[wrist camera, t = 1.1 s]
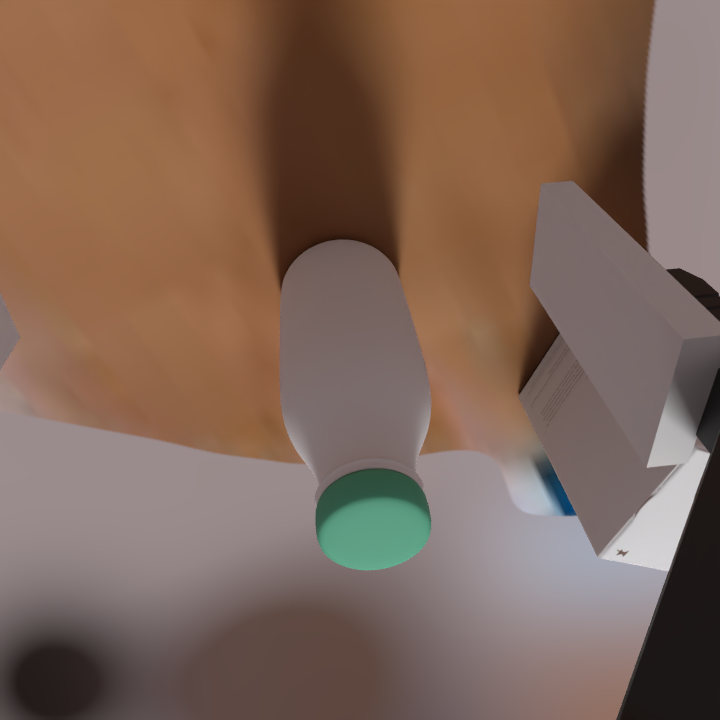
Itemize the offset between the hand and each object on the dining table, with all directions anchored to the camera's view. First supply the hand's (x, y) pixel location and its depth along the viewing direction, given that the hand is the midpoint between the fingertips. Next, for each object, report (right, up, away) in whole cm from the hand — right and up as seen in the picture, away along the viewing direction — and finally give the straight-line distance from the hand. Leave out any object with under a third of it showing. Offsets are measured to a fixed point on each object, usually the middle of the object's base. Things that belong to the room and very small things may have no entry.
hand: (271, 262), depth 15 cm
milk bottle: (+1, +2, +26) cm, 26 cm away
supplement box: (+20, -3, +32) cm, 37 cm away
